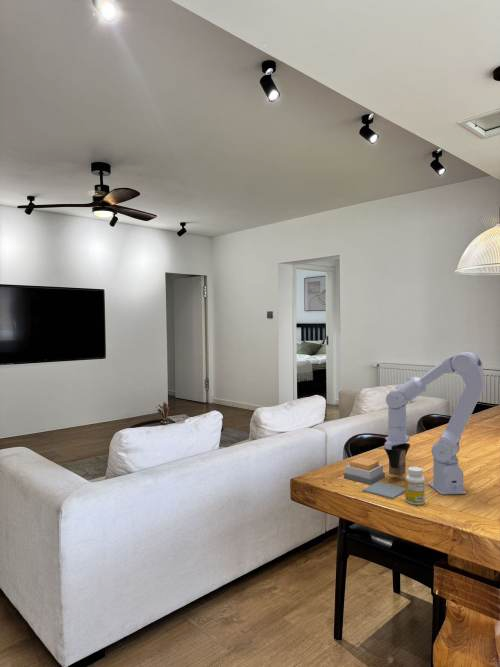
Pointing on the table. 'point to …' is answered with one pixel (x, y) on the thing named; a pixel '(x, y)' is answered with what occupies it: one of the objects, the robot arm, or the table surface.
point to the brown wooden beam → (401, 467)
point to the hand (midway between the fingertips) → (397, 466)
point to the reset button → (364, 463)
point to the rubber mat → (385, 490)
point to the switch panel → (364, 474)
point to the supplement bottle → (415, 486)
